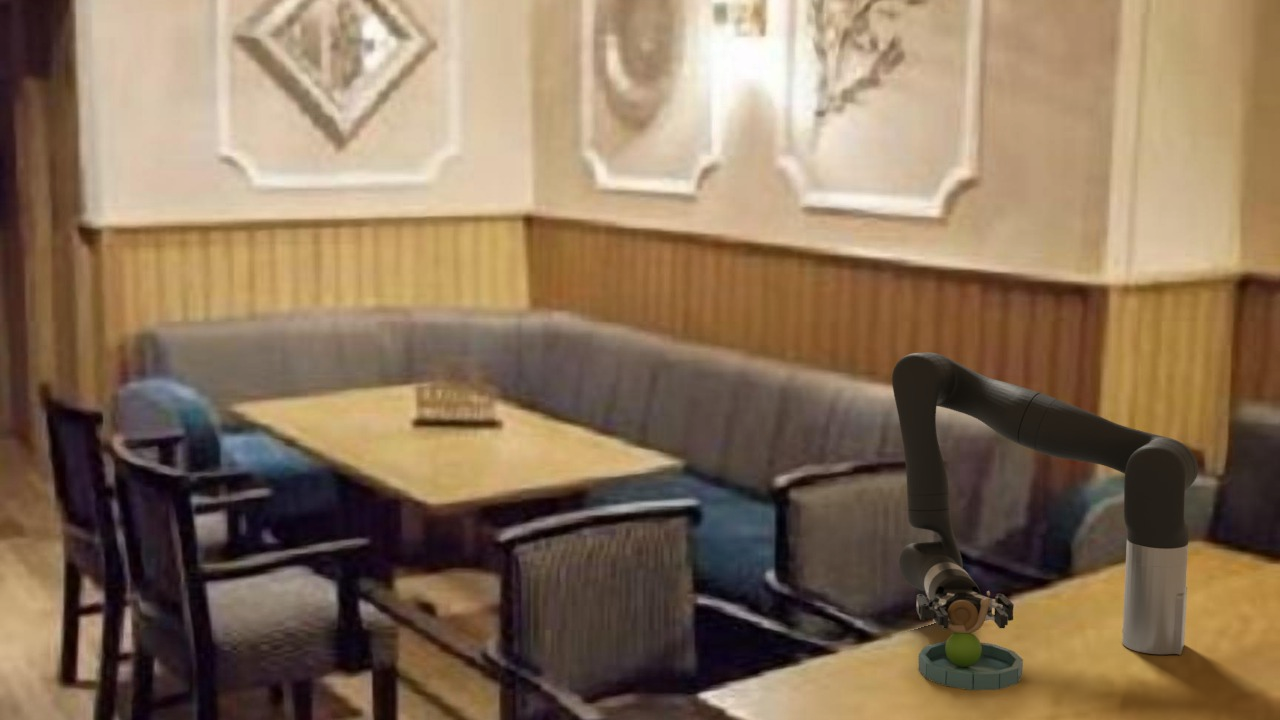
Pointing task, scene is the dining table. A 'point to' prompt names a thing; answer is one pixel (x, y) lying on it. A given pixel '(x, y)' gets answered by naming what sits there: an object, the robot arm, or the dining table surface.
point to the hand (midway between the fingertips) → (974, 622)
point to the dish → (972, 668)
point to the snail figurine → (965, 632)
